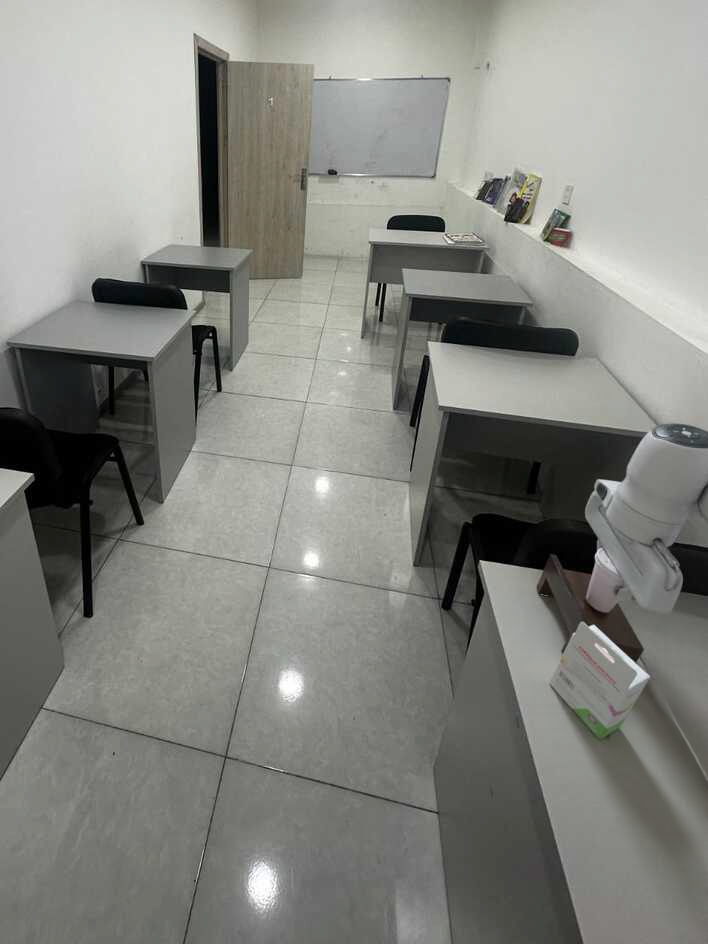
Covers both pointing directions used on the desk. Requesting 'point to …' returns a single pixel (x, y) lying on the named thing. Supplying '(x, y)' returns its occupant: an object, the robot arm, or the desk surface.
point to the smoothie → (603, 583)
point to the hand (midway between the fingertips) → (610, 580)
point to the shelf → (586, 607)
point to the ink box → (598, 680)
